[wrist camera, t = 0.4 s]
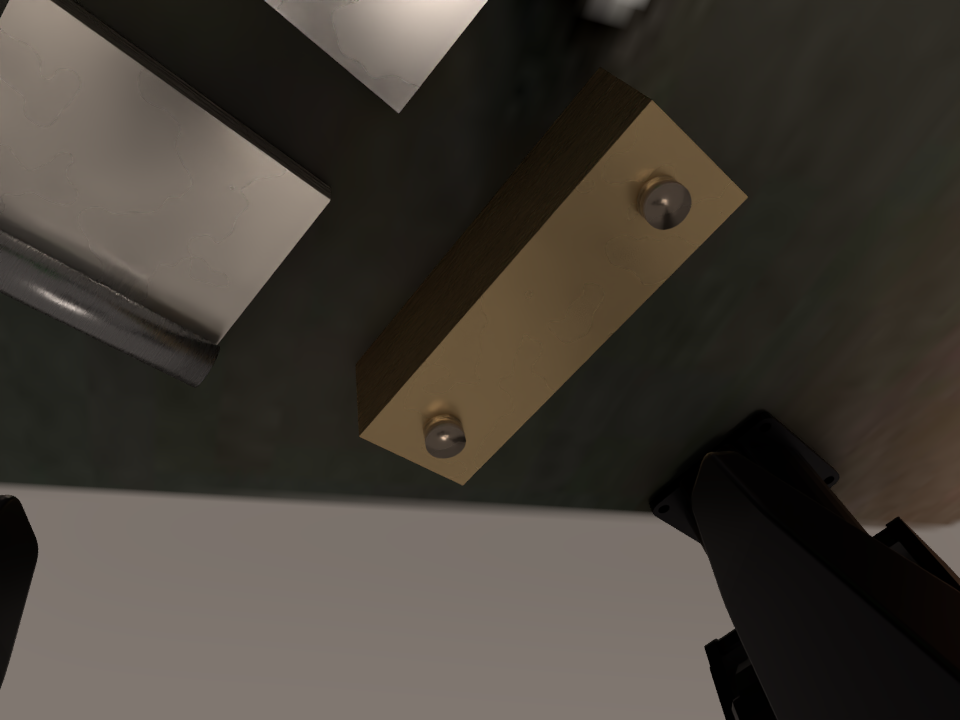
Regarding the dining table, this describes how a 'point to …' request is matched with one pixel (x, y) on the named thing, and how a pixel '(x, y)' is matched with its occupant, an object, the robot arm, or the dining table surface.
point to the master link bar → (540, 279)
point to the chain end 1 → (133, 193)
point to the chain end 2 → (383, 37)
